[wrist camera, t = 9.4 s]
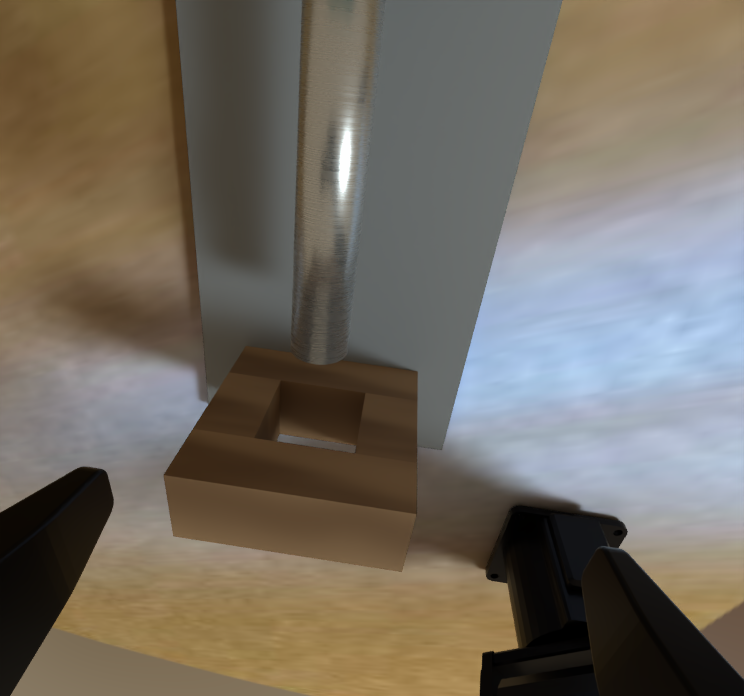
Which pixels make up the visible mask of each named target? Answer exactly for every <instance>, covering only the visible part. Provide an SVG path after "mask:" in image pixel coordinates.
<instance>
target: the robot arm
mask: <svg viewBox="0 0 744 696" xmlns="http://www.w3.org/2000/svg"><path fill="white" fill-rule="evenodd" d="M113 504H114V499H113V494H112V490H111V486H110V482H109V479H108V475H107V472H106V471H105V470H103V469H99V468H93V467H80V468H77V469H75V470H73V471H72V472H70V473H68V474H66V475H65V476H63V477H61V478H59V479H58V480H56V481H54V482H53V483H51V484H49V485H47V486H46V487H44V488H42V489H40V490H39V491H37V492H35V493H33V494H32V495H30V496H28V497H27V498H25V499H23V500H21V501H20V502H18V503H16V504H14V505H13V506H11V507H9V508H7V509H6V510H4V511H2V512H1V513H0V696H10V695H11V694H12V692H13V690H14V689H15V687H16V685H17V684H18V682H19V680H20V679H21V677H22V675H23V674H24V672H25V670H26V669H27V667H28V665H29V664H30V662H31V661H32V659H33V657H34V656H35V654H36V652H37V651H38V649H39V647H40V646H41V644H42V642H43V641H44V639H45V637H46V636H47V634H48V633H49V631H50V629H51V628H52V626H53V624H54V623H55V621H56V619H57V618H58V616H59V614H60V613H61V611H62V610H63V608H64V606H65V604H66V603H67V601H68V599H69V597H70V596H71V594H72V592H73V590H74V588H75V586H76V584H77V582H78V580H79V578H80V576H81V574H82V572H83V570H84V568H85V566H86V564H87V562H88V560H89V558H90V555H91V553H92V551H93V549H94V547H95V545H96V543H97V541H98V539H99V537H100V535H101V533H102V531H103V528H104V526H105V524H106V522H107V520H108V518H109V516H110V514H111V512H112V508H113ZM627 532H628V531H627V529H626V527H625V524H624V523H623V522H620V521H616V520H609V519H603V518H596V517H590V516H583V515H577V514H570V513H564V512H557V511H551V510H544V509H538V508H531V507H525V506H515V507H513V508H511V509H510V511H509V513H508V516H507V518H506V521H505V523H504V526H503V528H502V530H501V533H500V535H499V538H498V540H497V543H496V545H495V547H494V550H493V552H492V555H491V557H490V560H489V562H488V565H487V567H486V577H487V579H489V580H491V581H497V582H503V583H508V589H509V595H510V601H511V607H512V613H513V618H514V624H515V630H516V636H517V642H518V648H517V649H512V650H507V651H501V652H496V653H494V651H490V652H485V653H483V654H482V670H481V676H480V696H744V679H743V678H742V677H741V676H740V675H739V673H738V672H737V671H736V670H735V669H734V668H733V667H732V666H731V665H730V664H729V663H728V661H727V660H726V659H725V658H723V656H722V655H721V654H720V653H719V652H718V651H717V650H716V648H715V647H714V646H713V645H712V644H711V643H710V642H709V641H708V640H707V639H706V638H705V637H704V635H703V634H702V633H701V632H700V631H699V630H698V629H697V628H696V627H695V626H694V625H693V623H692V622H691V621H690V620H689V619H688V618H687V617H686V616H685V615H684V614H683V613H682V612H681V610H680V609H679V608H678V607H677V606H676V605H675V604H674V603H673V602H672V601H671V600H670V598H669V597H668V596H667V595H666V594H665V593H664V592H663V591H662V590H661V589H660V588H659V587H658V585H657V584H656V583H655V582H654V581H653V580H652V579H651V578H650V577H649V576H648V575H647V573H646V572H645V571H644V570H643V569H642V568H641V567H640V566H639V565H638V564H637V563H636V562H635V560H634V559H633V558H632V557H631V556H630V555H629V554H628V553H627V552H625V551H624V550H622V549H619V546H620V544H621V543H622V541H623V540H624V538H625V537H626V535H627Z"/></svg>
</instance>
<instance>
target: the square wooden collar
mask: <svg viewBox="0 0 744 696" xmlns="http://www.w3.org/2000/svg"><path fill="white" fill-rule="evenodd" d="M417 407H418V372H417V371H410V370H404V369H397V368H390V367H384V366H377V365H370V364H364V363H357V362H350V361H344V360H341V361H339V362H336V363H333V364H327V365H317V364H310V363H306V362H304V361H301V360H299V359H298V358H296V357H295V356H294V355H293V354H292V353H290V352H284V351H277V350H270V349H264V348H257V347H250V346H245V348H244V350H243V351H242V353H241V354H240V356H239V357H238V359H237V361H236V362H235V364H234V365H233V367H232V368H231V370H230V372H229V373H228V375H227V376H226V378H225V379H224V381H223V383H222V384H221V386H220V387H219V389H218V390H217V392H216V394H215V395H214V397H213V398H212V400H211V401H210V403H209V405H208V406H207V408H206V409H205V411H204V412H203V414H202V416H201V417H200V419H199V420H198V422H197V423H196V425H195V426H194V428H193V430H192V431H191V433H190V434H189V436H188V437H187V439H186V441H185V442H184V444H183V445H182V447H181V448H180V450H179V452H178V453H177V455H176V456H175V458H174V459H173V461H172V463H171V464H170V466H169V467H168V469H167V470H166V472H165V474H164V481H165V487H166V494H167V500H168V506H169V512H170V518H171V524H172V531H173V536H175V537H182V538H188V539H194V540H201V541H207V542H214V543H220V544H226V545H233V546H239V547H246V548H252V549H258V550H265V551H271V552H278V553H284V554H290V555H297V556H303V557H310V558H316V559H322V560H329V561H335V562H342V563H348V564H354V565H361V566H367V567H374V568H380V569H386V570H393V571H399V572H402V570H403V566H404V562H405V558H406V554H407V550H408V546H409V543H410V539H411V535H412V531H413V527H414V523H415V519H416V515H417ZM279 434H284V435H291V436H297V437H304V438H310V439H317V440H323V441H330V442H336V443H343V444H350V445H356V452H355V453H348V452H342V451H335V450H329V449H322V448H316V447H309V446H303V445H296V444H289V443H283V442H277V439H278V436H279Z"/></svg>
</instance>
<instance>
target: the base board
mask: <svg viewBox="0 0 744 696" xmlns="http://www.w3.org/2000/svg"><path fill="white" fill-rule="evenodd" d="M561 4H562V0H386V1H385V11H384V20H383V29H382V38H381V47H380V57H379V66H378V75H377V84H376V93H375V103H374V112H373V121H372V130H371V140H370V149H369V158H368V167H367V176H366V186H365V195H364V204H363V213H362V222H361V232H360V241H359V250H358V259H357V268H356V278H355V287H354V296H353V305H352V314H351V324H350V333H349V342H348V351H347V355H346V356H345V358H344V359H342V360H344V361H350V362H357V363H364V364H370V365H377V366H384V367H390V368H397V369H404V370H410V371H417V372H418V407H417V446H418V447H424V448H431V449H437V450H442V447H443V443H444V439H445V436H446V432H447V428H448V425H449V421H450V417H451V413H452V410H453V406H454V402H455V399H456V395H457V391H458V387H459V384H460V380H461V376H462V373H463V369H464V365H465V361H466V358H467V354H468V350H469V346H470V343H471V339H472V335H473V332H474V328H475V324H476V320H477V317H478V313H479V309H480V306H481V302H482V298H483V294H484V291H485V287H486V283H487V279H488V276H489V272H490V268H491V265H492V261H493V257H494V253H495V250H496V246H497V242H498V239H499V235H500V231H501V227H502V224H503V220H504V216H505V213H506V209H507V205H508V201H509V198H510V194H511V190H512V186H513V183H514V179H515V175H516V172H517V168H518V164H519V160H520V157H521V153H522V149H523V146H524V142H525V138H526V134H527V131H528V127H529V123H530V119H531V116H532V112H533V108H534V105H535V101H536V97H537V93H538V90H539V86H540V82H541V79H542V75H543V71H544V67H545V64H546V60H547V56H548V52H549V49H550V45H551V41H552V38H553V34H554V30H555V26H556V23H557V19H558V15H559V12H560V8H561ZM176 11H177V23H178V35H179V48H180V60H181V72H182V85H183V97H184V109H185V121H186V134H187V146H188V158H189V171H190V183H191V195H192V208H193V220H194V232H195V244H196V257H197V269H198V281H199V294H200V306H201V318H202V330H203V343H204V355H205V367H206V380H207V392H208V404H209V403H210V401H211V400H212V398H213V397H214V395H215V394H216V392H217V390H218V389H219V387H220V386H221V384H222V383H223V381H224V379H225V378H226V376H227V375H228V373H229V372H230V370H231V368H232V367H233V365H234V364H235V362H236V361H237V359H238V357H239V356H240V354H241V353H242V351H243V350H244V348H245V346H250V347H257V348H264V349H270V350H277V351H284V352H290V353H292V352H291V349H290V347H291V317H292V287H293V256H294V226H295V196H296V165H297V135H298V104H299V74H300V44H301V13H302V0H176Z"/></svg>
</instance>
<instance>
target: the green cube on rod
mask: <svg viewBox="0 0 744 696" xmlns="http://www.w3.org/2000/svg"><path fill="white" fill-rule="evenodd" d="M385 1H386V0H302V13H301V44H300V74H299V104H298V135H297V165H296V196H295V226H294V256H293V287H292V317H291V347H290V349H291V352H292V354H293V355H294V356H295V357H296V358H298V359H299V360H301V361H304V362H306V363H310V364H317V365H327V364H333V363H336V362H339V361H341V360H342V359H344V358H345V356H346V355H347V351H348V342H349V333H350V324H351V314H352V305H353V296H354V287H355V278H356V268H357V259H358V250H359V241H360V232H361V222H362V213H363V204H364V195H365V186H366V176H367V167H368V158H369V149H370V140H371V130H372V121H373V112H374V103H375V93H376V84H377V75H378V66H379V57H380V47H381V38H382V29H383V20H384V11H385Z"/></svg>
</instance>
